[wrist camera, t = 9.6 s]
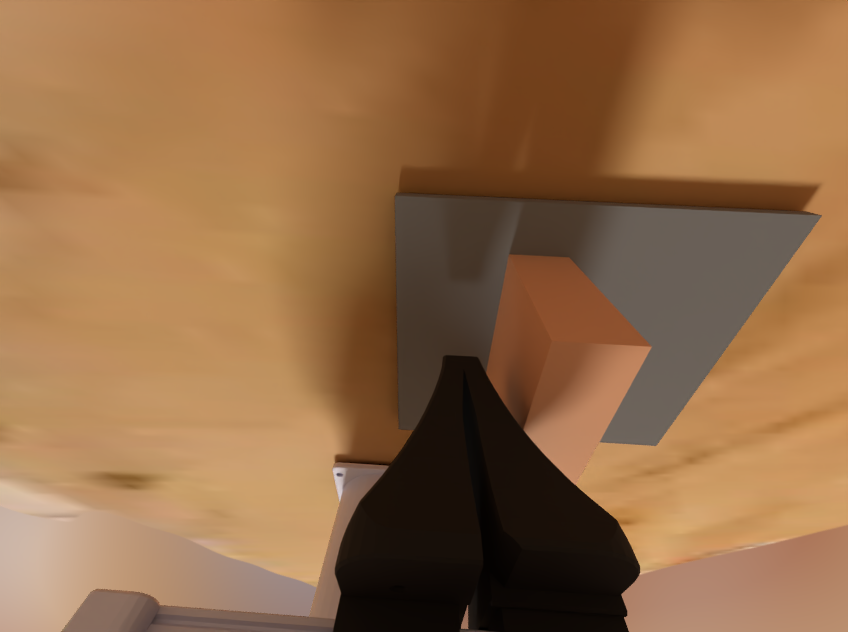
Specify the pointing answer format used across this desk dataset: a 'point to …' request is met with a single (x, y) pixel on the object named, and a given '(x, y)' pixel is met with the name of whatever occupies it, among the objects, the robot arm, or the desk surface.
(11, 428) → the desk surface
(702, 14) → the desk surface
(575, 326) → the slab
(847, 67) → the desk surface
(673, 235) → the mat
